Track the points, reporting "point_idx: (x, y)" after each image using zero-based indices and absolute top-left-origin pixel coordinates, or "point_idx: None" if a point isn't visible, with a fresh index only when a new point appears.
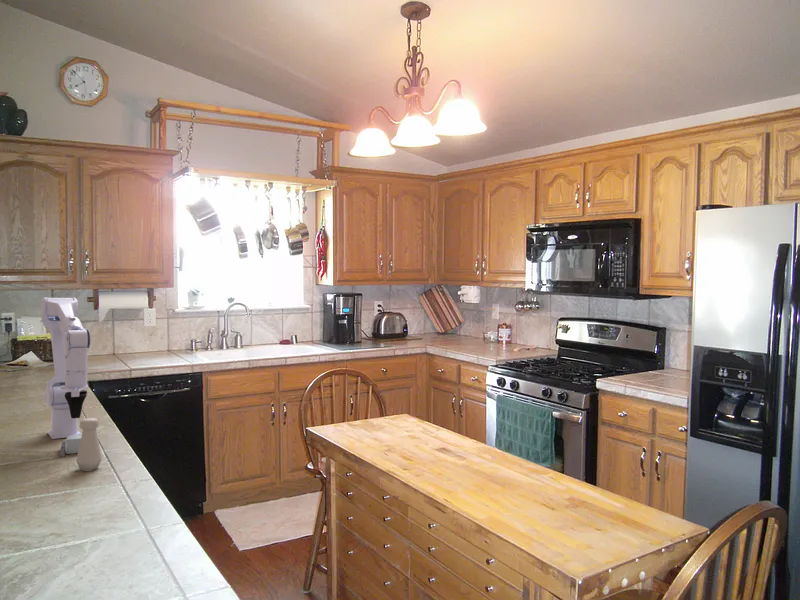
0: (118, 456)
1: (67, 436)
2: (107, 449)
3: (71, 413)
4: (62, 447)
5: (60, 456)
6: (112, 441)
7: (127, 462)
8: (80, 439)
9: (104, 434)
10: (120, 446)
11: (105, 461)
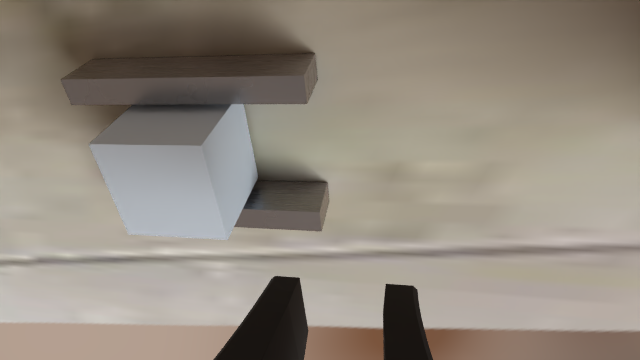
0: (110, 291)
1: (186, 148)
2: (233, 270)
3: (244, 326)
4: (119, 89)
5: (90, 61)
6: None
7: (30, 304)
8: (127, 217)
9: (612, 287)
10: None
11: (34, 248)
